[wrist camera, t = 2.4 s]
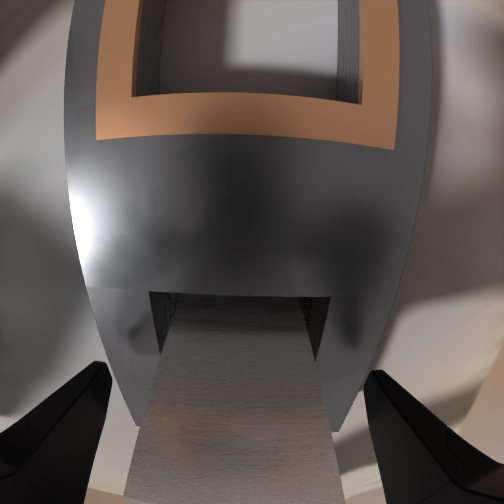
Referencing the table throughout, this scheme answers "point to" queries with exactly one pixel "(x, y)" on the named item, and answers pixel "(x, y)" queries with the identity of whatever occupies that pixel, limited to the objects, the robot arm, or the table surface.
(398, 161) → the rail
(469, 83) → the table surface
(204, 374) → the steel peg
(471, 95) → the table surface
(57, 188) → the table surface
